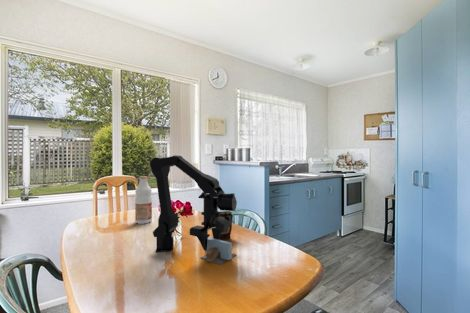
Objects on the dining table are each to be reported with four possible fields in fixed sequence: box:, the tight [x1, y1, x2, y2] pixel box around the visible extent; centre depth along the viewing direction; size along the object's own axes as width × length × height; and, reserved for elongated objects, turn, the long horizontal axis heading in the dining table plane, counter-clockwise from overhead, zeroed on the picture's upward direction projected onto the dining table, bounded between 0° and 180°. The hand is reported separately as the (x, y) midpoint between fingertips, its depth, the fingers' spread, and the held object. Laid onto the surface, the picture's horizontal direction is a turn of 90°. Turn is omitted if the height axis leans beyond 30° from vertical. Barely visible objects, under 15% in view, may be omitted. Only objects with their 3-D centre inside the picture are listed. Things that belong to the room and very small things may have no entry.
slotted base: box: [200, 241, 237, 265], centre depth 97 cm, size 12×10×4 cm
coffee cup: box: [219, 210, 234, 242], centre depth 118 cm, size 9×8×13 cm
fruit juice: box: [134, 175, 153, 225], centre depth 149 cm, size 9×9×28 cm
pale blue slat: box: [204, 236, 233, 261], centre depth 97 cm, size 12×2×6 cm, turn 55°
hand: (210, 248), depth 99 cm, fingers open, 6 cm apart
